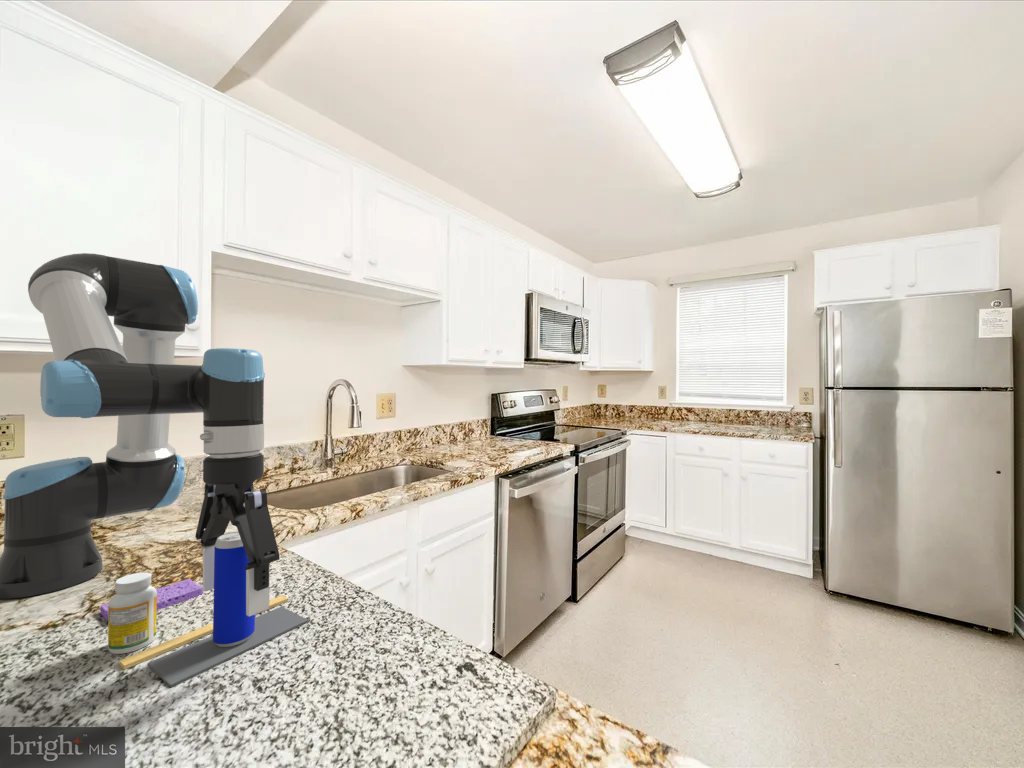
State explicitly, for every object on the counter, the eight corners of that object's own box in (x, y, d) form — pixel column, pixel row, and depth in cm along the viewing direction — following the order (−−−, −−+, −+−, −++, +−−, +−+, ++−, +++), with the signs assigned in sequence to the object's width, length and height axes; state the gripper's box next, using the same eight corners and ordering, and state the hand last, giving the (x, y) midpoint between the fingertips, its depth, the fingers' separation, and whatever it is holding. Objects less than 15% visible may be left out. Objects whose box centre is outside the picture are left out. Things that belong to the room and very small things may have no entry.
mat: (147, 665, 58) (147, 663, 58) (281, 608, 73) (281, 606, 73) (170, 687, 53) (170, 685, 53) (308, 621, 68) (308, 619, 68)
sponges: (203, 597, 78) (203, 587, 78) (110, 629, 68) (110, 617, 68) (189, 587, 82) (189, 577, 82) (99, 615, 72) (99, 604, 72)
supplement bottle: (134, 655, 60) (135, 586, 60) (96, 655, 60) (97, 586, 60) (166, 633, 66) (166, 570, 66) (131, 633, 66) (131, 570, 66)
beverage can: (246, 625, 67) (248, 528, 67) (260, 637, 64) (261, 535, 64) (207, 640, 63) (209, 536, 63) (219, 653, 60) (221, 544, 60)
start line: (119, 664, 58) (119, 660, 58) (282, 598, 77) (282, 595, 77) (124, 669, 57) (124, 665, 57) (288, 601, 75) (288, 598, 75)
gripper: (170, 451, 67) (170, 587, 67) (249, 464, 54) (249, 637, 53) (223, 445, 74) (223, 570, 73) (306, 456, 60) (307, 611, 60)
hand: (234, 599), depth 63 cm, fingers open, 13 cm apart
